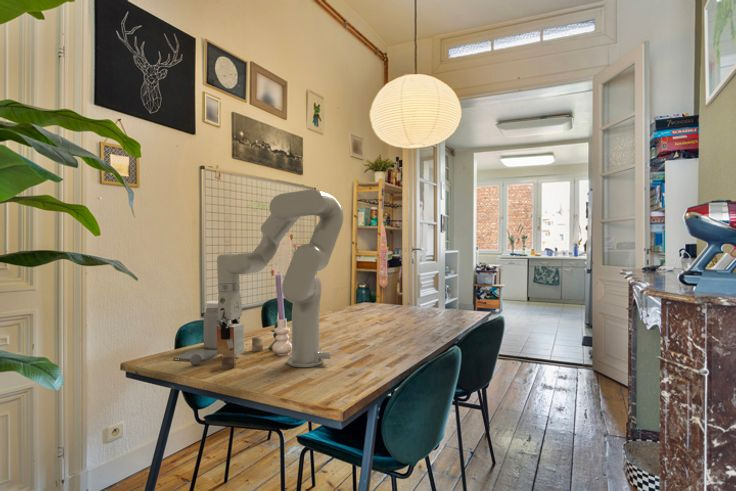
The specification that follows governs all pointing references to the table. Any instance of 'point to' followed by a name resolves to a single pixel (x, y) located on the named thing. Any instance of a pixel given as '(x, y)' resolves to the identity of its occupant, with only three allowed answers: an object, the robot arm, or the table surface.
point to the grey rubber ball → (195, 359)
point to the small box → (231, 340)
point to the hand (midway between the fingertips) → (230, 336)
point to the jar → (211, 324)
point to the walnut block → (228, 361)
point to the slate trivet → (203, 353)
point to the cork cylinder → (257, 344)
